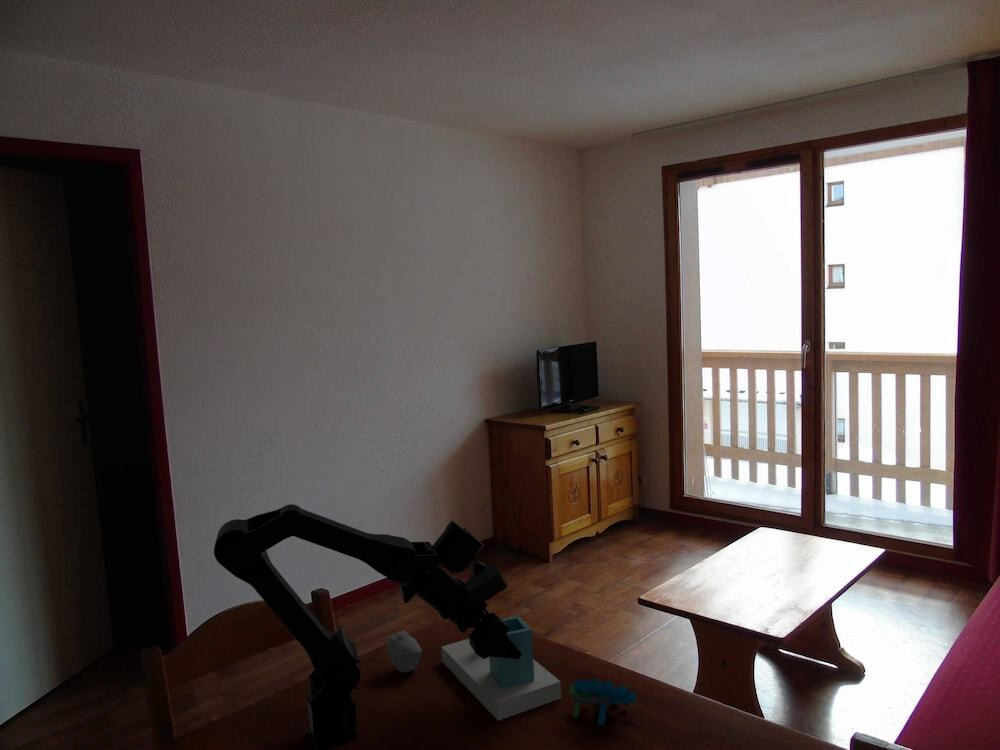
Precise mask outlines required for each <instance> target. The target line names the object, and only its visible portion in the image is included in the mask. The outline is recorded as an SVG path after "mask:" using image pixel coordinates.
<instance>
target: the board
mask: <svg viewBox="0 0 1000 750" xmlns="http://www.w3.org/2000/svg"><path fill="white" fill-rule="evenodd" d="M441 658H442V659H441V661H442V663H443V664H444V665H445V667H447V668H448V669H449V671H450V672H451V673H452V674H454V676H455V677H456V678H457V679H458V680H459V681H460V683H462V685H464V686H465V688H467V690H469V692H470V693H471V694H472V695H473V696H474V697H475V698H476V699H477V701H479V702H480V703H481V704H482V705H483V707H484V708H485V709H486V710H487V711H488V712H489V713H490V714H491V715H492V716H493V717H494V718H495V719H496V720H497V721H498V722H499V721H501V720H504V719H508V718H510V717H512V716H515V715H518V714H521V713H524V712H527V711H530V710H533V709H535V708H539V707H541V706H543V705H546V704H549V703H553V702H555V701H557V700H561V699H562V687H561V681H560V680H559V679H558V678H557V677H556V676H555V675H553V674H552V673H551V672H549V671H548V670H547V669H546V668H545V667H544V666H542V665H541V664H540V663H539V662H537V661H536V660H535V659H534V658H533V662H534V680H535V681H532V682H527V683H523V684H519V685H514V686H510V687H506V688H500V687H499V685H498V683H497V682H496V680H495V679H494V677H493V676H492V674H491V672H490V662H489V657H488V658H486V659H483V658H481V657H480V656H479V655H477V654H476V653H475V652H474V650H473V649H472V647H471V645H470V644H469V638H466V639H463V640H460V641H457V642H452V643H448V644H445V645H443V646H441Z"/></svg>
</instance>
